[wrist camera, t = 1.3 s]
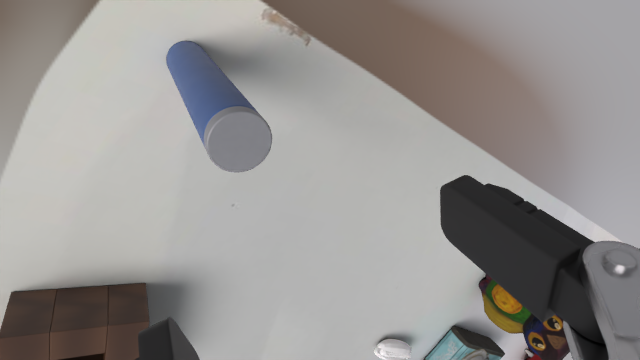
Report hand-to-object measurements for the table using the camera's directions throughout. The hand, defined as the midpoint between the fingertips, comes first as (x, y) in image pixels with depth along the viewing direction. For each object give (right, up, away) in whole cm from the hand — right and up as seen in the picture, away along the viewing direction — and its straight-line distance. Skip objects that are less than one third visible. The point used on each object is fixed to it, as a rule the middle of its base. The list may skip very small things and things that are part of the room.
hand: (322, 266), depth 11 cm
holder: (-23, -12, +27) cm, 37 cm away
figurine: (+29, -14, +56) cm, 65 cm away
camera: (+26, -30, +64) cm, 75 cm away
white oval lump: (+11, -24, +52) cm, 59 cm away
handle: (-10, +12, +19) cm, 25 cm away
